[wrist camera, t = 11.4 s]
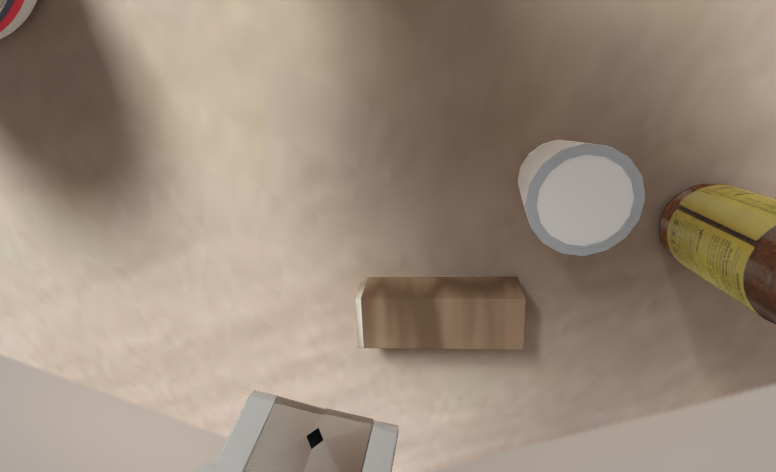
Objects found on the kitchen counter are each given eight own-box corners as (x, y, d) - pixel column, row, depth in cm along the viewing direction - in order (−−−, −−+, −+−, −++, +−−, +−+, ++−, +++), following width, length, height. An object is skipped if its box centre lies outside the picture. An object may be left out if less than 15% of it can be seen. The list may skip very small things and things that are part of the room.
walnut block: (358, 347, 37) (523, 349, 36) (355, 298, 36) (525, 298, 35) (365, 322, 41) (514, 323, 40) (362, 277, 40) (516, 276, 39)
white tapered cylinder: (627, 173, 35) (672, 195, 29) (557, 242, 37) (583, 278, 31) (557, 109, 35) (587, 117, 28) (488, 183, 37) (501, 208, 30)
